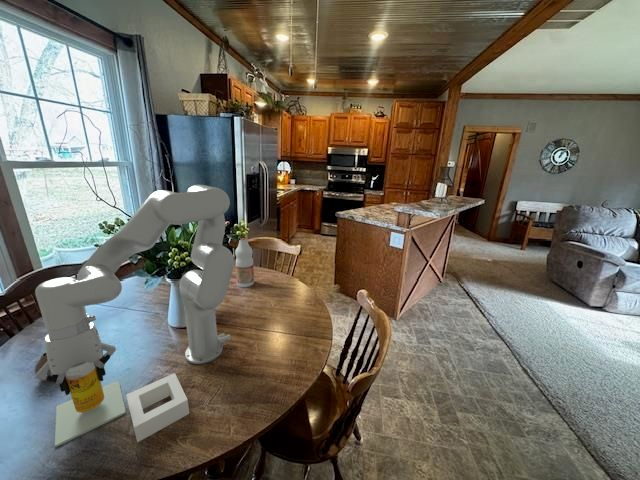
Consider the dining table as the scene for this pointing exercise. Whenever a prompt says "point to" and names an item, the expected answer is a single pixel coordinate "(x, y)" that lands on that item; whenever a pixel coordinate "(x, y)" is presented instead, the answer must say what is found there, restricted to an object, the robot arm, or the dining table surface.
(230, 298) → the dining table surface
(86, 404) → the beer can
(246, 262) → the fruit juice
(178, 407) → the sleeve
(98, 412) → the mat
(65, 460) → the dining table surface
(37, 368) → the vase
